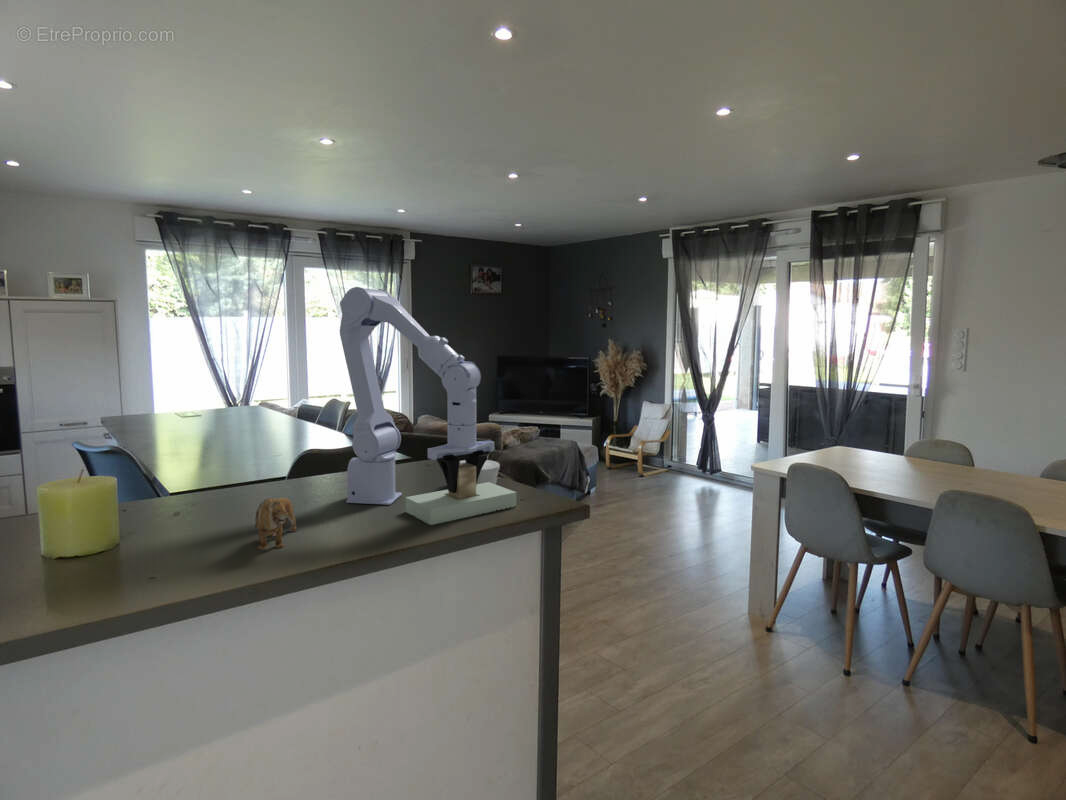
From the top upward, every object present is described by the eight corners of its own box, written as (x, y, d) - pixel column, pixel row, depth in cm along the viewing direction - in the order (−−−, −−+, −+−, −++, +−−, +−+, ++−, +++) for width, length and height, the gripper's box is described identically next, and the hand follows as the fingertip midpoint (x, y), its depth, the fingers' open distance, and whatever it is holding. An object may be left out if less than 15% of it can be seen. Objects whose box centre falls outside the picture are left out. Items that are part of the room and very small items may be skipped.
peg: (459, 503, 123) (459, 468, 122) (448, 499, 126) (448, 465, 125) (476, 500, 125) (476, 466, 124) (465, 495, 128) (465, 462, 127)
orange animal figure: (288, 555, 100) (286, 501, 99) (252, 558, 99) (250, 503, 98) (298, 526, 114) (297, 478, 113) (267, 528, 113) (265, 480, 112)
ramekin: (445, 482, 147) (445, 460, 146) (490, 478, 151) (490, 457, 150) (458, 495, 136) (458, 471, 136) (506, 490, 141) (506, 467, 140)
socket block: (430, 525, 116) (430, 509, 115) (405, 511, 123) (405, 497, 123) (516, 506, 128) (516, 492, 128) (488, 495, 136) (488, 482, 135)
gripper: (440, 429, 116) (440, 500, 118) (503, 422, 125) (502, 488, 127) (421, 424, 121) (422, 492, 123) (483, 418, 130) (483, 481, 132)
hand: (462, 490), depth 125 cm, fingers closed on peg, 4 cm apart
